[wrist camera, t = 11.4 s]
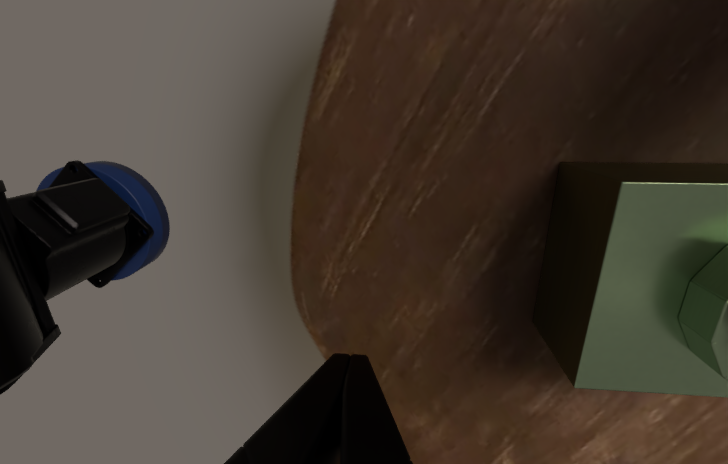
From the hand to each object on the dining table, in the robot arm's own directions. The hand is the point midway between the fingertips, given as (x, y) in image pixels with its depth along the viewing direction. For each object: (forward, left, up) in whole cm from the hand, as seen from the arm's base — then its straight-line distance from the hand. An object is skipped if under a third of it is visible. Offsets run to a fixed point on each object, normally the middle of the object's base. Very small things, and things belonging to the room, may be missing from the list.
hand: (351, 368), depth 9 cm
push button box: (+10, -11, -13) cm, 20 cm away
